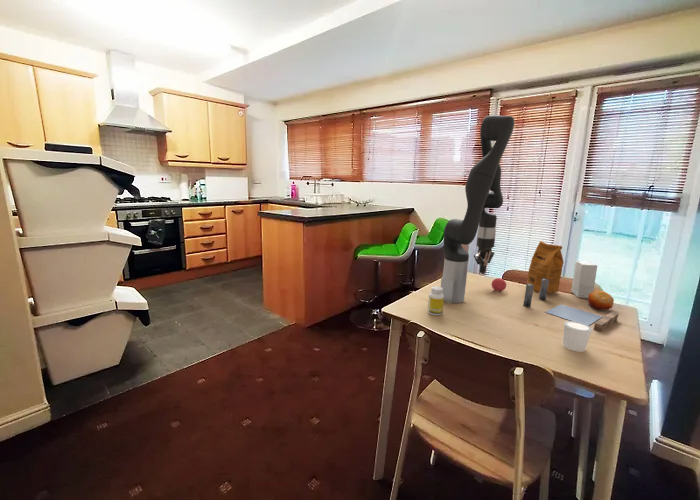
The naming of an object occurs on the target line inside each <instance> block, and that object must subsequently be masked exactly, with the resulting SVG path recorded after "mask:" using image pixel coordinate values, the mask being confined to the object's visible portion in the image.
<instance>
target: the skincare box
mask: <svg viewBox="0 0 700 500" xmlns="http://www.w3.org/2000/svg"><path fill="white" fill-rule="evenodd" d="M597 271H598V264H595V263H593V262H591V261H584V260H576V261H575V264H574V271H573V278H572V283H571V284H572V285H571V290H570V291H571V293H572V294H573V295H575V297H577V298H580V299H581V298H583V299H588V296H589V294H590V293H592V292H594V291H595V290H594V289H595V285H596V278H597Z"/></svg>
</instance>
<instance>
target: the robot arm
mask: <svg viewBox="0 0 700 500" xmlns="http://www.w3.org/2000/svg"><path fill="white" fill-rule="evenodd" d="M480 125H481V126H480V132H479V133H480V135H479V136H480V146H481V147H480V148H481V156H482V158H481V159H480V160H478V162H477V163H475V164H474V166H473V167H472V168H471V169H470V171H469V174H468V176H467V180H466V182H465V187H464V188H465V189H464V190H465V196H466V201H467V208H466V212H465V215H464V218H463V219H459V218H458V219H457V218H452V219H450V220H448V221H447V223H446V224H445V226H444V231H443V254H444V262H443V271H442V277H440V278H441V279H440V287H441V288H443V292H442V294H443V295H444V301H443V302H447V303H449V304H460V303H464V301H465V296H466V295H465V294H466V287H467V286H466V285H467V279H468V278H467V275H468V268H469V258H470V254H469V252H468V251H466V250H465V249H464V247H463V245H464V246H467V245H470V244H471V243H473V241H474V239H475V238H476V247H478V249H477V253H476V254H474V255H473V258H474V260H475V262H476V265H479V273H481V274H485V273H486V271H487V266H488V264H490V263H491V261H492V260H493V258H494V255H495V252H494V251H493V248H494V247H495V242H496V233H497V231H496V230H497V229H496V228H497V220H498V219H497V215H496V214H495V213H491V212H488V211H486V209H499V208H501V207H502V206H503V203H504V198H503V193H502V189H501V182H502V181H501V179H502V168H501V164H500V161H501V160H502V157H503V155H504V153H505V150H506V148H507V146H508V143H509V142H510V139H511V137H512V135H513V132H514V129H515V118H514V117H513V116H511V115H486V116H485V117H484V118H483V120H482V122H481V124H480ZM492 142H494V144H493V146H492ZM476 235H477V236H476Z"/></svg>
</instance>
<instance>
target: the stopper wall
mask: <svg viewBox="0 0 700 500" xmlns="http://www.w3.org/2000/svg"><path fill="white" fill-rule="evenodd" d="M618 317H619V314H618V313H616V312H613V311H611V312H609V313H608V314H606V315H604V316H602V318H600V319H599V320H597V321H596V322H594V326H593V331H597V332H602V331H604V330H605V329H607V328H608V327H609V325H610V326H611V325H612V324H614V323H615V322H617V321H618ZM616 320H617V321H616ZM613 322H614V323H613Z"/></svg>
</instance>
